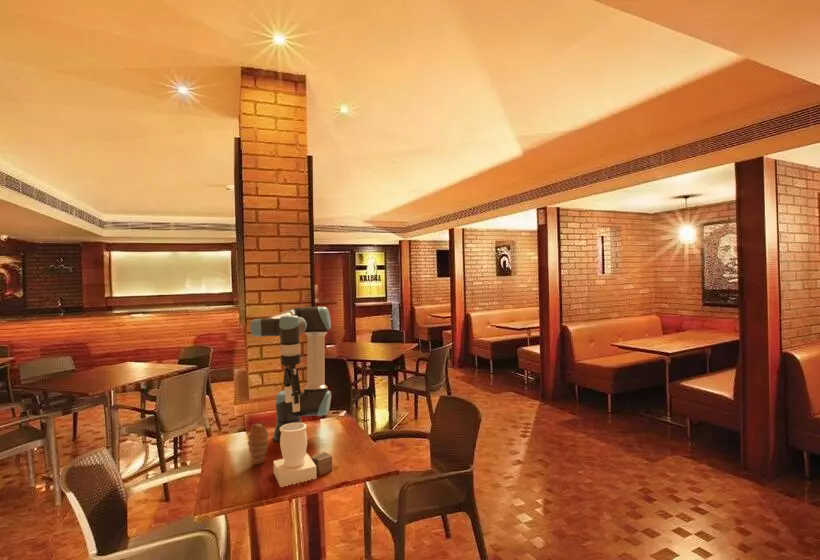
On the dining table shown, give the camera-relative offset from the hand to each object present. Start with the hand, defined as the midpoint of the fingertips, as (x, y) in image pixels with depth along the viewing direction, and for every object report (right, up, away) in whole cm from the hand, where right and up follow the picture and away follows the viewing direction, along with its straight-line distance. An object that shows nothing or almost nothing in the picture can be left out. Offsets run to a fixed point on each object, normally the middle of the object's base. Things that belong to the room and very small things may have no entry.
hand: (292, 406), depth 174 cm
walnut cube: (+11, -28, +5) cm, 30 cm away
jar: (+1, -23, 0) cm, 23 cm away
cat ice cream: (-18, -28, +12) cm, 36 cm away
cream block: (+1, -28, 0) cm, 28 cm away
